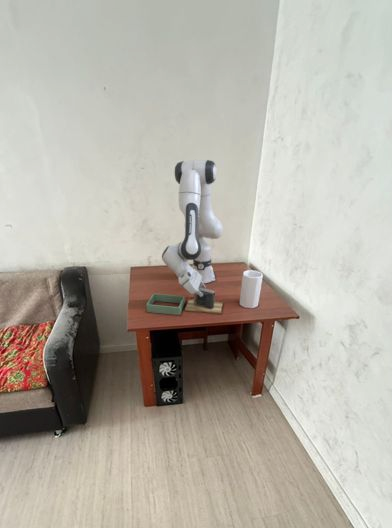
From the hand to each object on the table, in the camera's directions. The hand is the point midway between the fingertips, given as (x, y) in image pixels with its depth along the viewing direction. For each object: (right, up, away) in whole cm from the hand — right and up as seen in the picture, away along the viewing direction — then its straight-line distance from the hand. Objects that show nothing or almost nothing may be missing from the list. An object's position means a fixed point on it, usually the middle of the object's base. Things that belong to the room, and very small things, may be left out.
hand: (203, 291), depth 160 cm
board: (0, -8, +6) cm, 10 cm away
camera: (0, -7, +5) cm, 9 cm away
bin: (-21, -8, +5) cm, 23 cm away
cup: (+26, -5, +10) cm, 29 cm away
